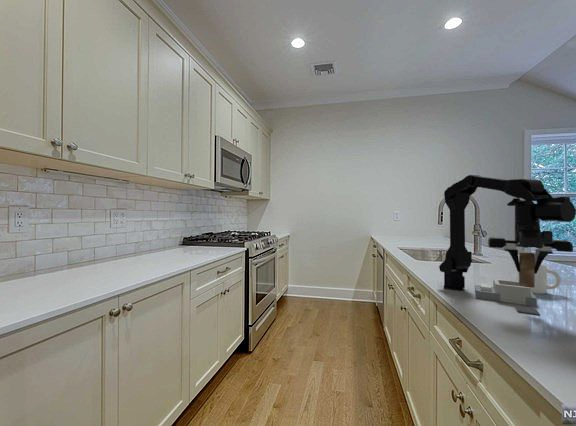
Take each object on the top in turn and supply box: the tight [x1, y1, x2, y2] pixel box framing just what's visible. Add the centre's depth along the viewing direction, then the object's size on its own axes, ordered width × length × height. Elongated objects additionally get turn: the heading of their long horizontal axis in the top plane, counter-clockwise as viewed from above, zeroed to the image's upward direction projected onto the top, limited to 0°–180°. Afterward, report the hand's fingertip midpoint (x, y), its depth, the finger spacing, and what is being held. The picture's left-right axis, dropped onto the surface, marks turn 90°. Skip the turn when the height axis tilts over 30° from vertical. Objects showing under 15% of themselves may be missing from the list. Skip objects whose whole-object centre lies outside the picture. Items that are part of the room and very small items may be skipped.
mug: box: [517, 263, 562, 295], centre depth 103 cm, size 12×8×10 cm
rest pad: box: [514, 305, 541, 317], centre depth 83 cm, size 5×5×1 cm
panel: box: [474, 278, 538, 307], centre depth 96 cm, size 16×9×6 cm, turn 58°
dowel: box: [518, 251, 535, 288], centre depth 83 cm, size 4×4×10 cm
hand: (526, 272), depth 83 cm, fingers closed on dowel, 3 cm apart
